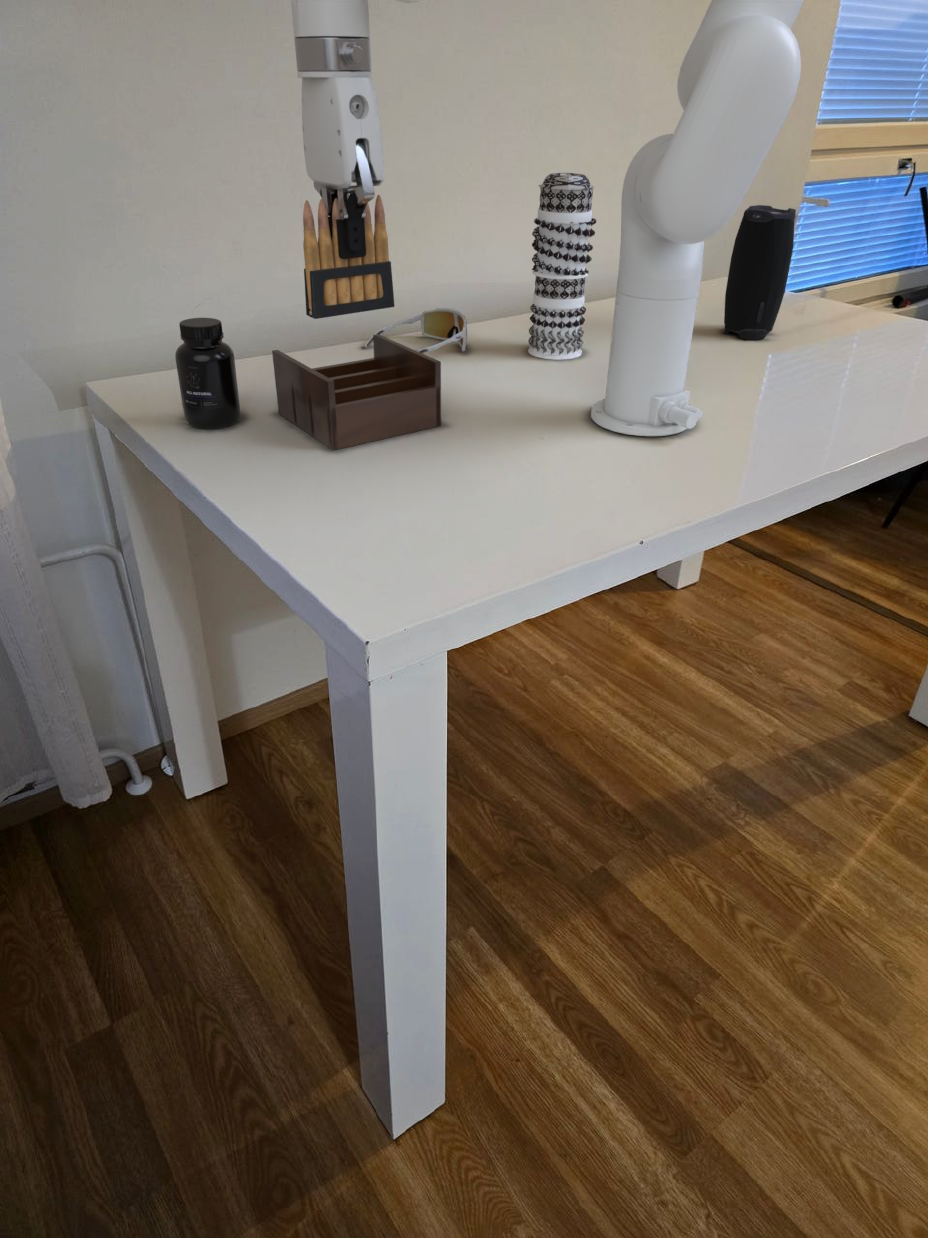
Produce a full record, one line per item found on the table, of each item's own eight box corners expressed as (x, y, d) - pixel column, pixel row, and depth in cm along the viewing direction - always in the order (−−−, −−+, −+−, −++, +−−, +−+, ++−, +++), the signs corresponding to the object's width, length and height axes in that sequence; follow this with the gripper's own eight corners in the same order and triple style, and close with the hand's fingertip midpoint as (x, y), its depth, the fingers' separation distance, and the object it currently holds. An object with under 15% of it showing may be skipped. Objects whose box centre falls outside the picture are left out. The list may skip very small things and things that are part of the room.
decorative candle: (587, 360, 130) (604, 178, 116) (527, 359, 130) (537, 176, 116) (581, 344, 137) (596, 171, 124) (524, 343, 137) (533, 170, 124)
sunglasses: (486, 351, 133) (483, 319, 130) (405, 379, 127) (400, 347, 124) (437, 331, 143) (433, 301, 140) (360, 357, 137) (354, 326, 134)
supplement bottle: (192, 433, 102) (175, 331, 95) (180, 416, 107) (163, 318, 100) (248, 425, 104) (235, 325, 98) (234, 408, 109) (221, 312, 103)
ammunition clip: (313, 319, 96) (302, 201, 89) (306, 315, 97) (294, 199, 90) (394, 306, 101) (390, 194, 94) (387, 303, 102) (381, 193, 95)
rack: (441, 425, 105) (441, 361, 101) (333, 450, 98) (327, 381, 93) (380, 393, 115) (378, 333, 111) (278, 413, 108) (271, 350, 104)
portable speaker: (720, 326, 149) (742, 203, 138) (776, 331, 146) (802, 206, 136) (716, 337, 142) (738, 209, 132) (774, 343, 140) (801, 212, 129)
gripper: (405, 60, 82) (412, 263, 92) (331, 61, 93) (344, 243, 103) (336, 59, 78) (351, 270, 88) (267, 61, 89) (287, 249, 99)
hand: (347, 254), depth 95 cm, fingers closed on ammunition clip, 1 cm apart
